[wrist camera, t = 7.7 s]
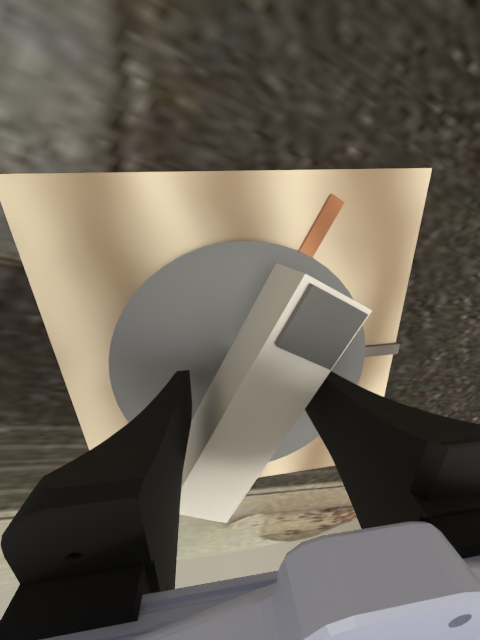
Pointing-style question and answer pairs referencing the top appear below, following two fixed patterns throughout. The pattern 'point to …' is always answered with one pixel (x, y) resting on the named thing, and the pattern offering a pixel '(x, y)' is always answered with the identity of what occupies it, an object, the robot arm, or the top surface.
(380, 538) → the robot arm
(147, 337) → the dial
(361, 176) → the dial board
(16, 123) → the top surface
